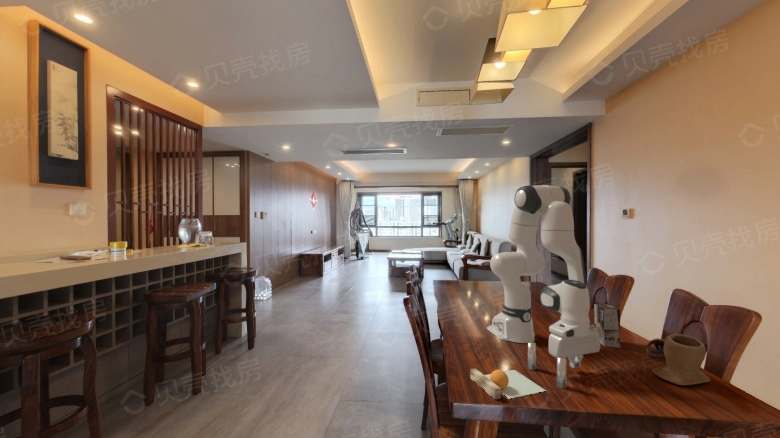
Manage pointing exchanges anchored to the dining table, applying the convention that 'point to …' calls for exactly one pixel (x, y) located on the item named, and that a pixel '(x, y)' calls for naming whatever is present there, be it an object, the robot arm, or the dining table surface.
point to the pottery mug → (659, 348)
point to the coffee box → (608, 324)
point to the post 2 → (561, 372)
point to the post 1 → (531, 355)
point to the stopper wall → (485, 383)
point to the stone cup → (683, 360)
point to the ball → (499, 379)
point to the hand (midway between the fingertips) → (575, 366)
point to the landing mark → (519, 385)
